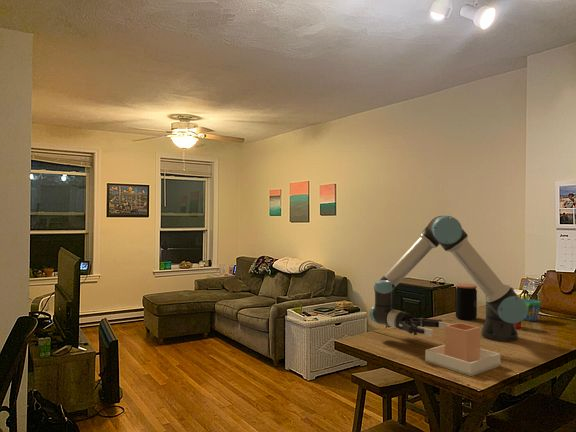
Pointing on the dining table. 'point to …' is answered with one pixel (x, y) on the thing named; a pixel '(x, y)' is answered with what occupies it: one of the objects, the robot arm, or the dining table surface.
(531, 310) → the snack cup
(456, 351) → the box
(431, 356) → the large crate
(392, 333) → the dining table surface
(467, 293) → the coffee jar
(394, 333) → the dining table surface
